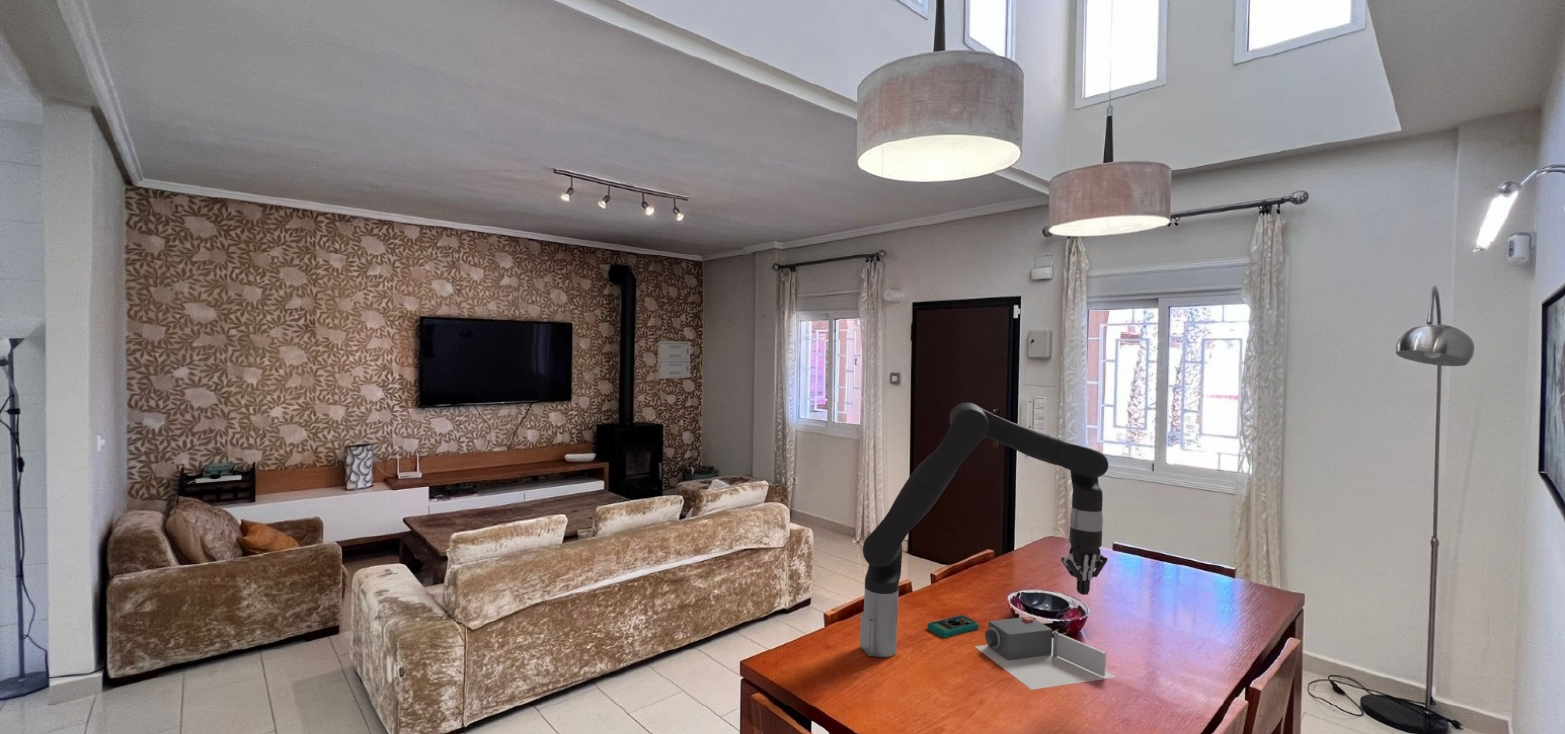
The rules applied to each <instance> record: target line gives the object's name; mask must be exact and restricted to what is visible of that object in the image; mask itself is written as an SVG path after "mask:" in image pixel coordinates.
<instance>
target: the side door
mask: <svg viewBox="0 0 1565 734" xmlns="http://www.w3.org/2000/svg"><path fill="white" fill-rule="evenodd" d="M1052 638H1053V656H1058V657H1061V658H1063V659H1065V660H1067V661H1070V662H1072V663H1074V664H1076V665H1078V666H1081V667H1083V668H1085V669H1087V670H1090V671H1092V672H1094V673H1096V674H1099V675H1101V676H1105V670H1106V666H1107V665H1106V663H1107V662H1106V660H1107V658H1106V657H1107V652H1105V651H1103V650H1101V649H1098V648H1096V647H1093V646H1091V645H1089V644H1086V643H1083V642H1082V641H1078V640H1077V639H1075V638H1072V637H1069V636H1067V635H1064V634H1062V633H1059V631H1056V630H1055V631H1053V636H1052Z"/></svg>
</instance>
